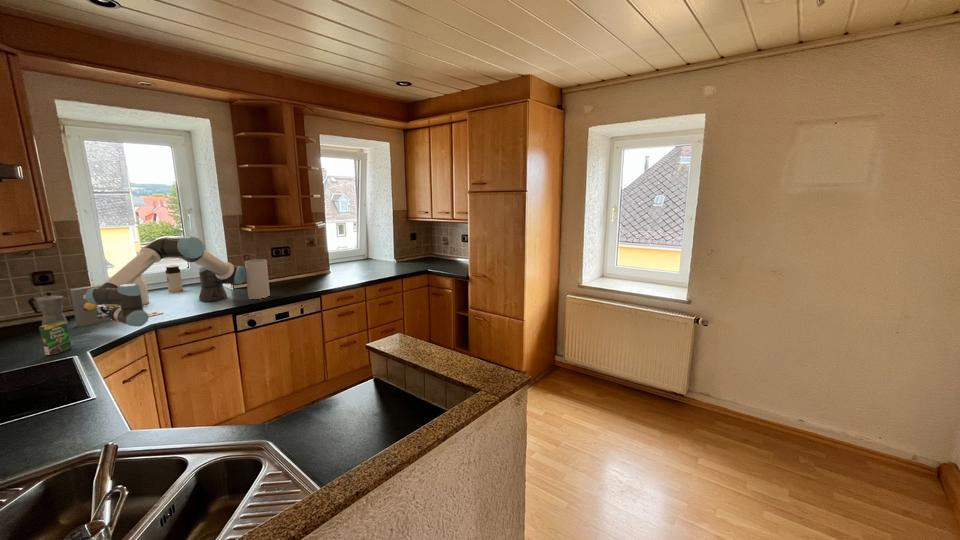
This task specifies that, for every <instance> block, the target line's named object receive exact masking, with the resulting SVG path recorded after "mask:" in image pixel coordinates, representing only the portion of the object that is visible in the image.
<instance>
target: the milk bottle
mask: <svg viewBox="0 0 960 540" xmlns="http://www.w3.org/2000/svg"><path fill="white" fill-rule="evenodd" d="M142 276H143V274H141V275H140V276H139V277H138V278H137V279H136V280H135V281H134V282H133V284H138V285H139V288H140V291H141V298H142V306H143V305H147V304H149V303H150V299H149V292H148V287H147V283H146V281H145V280H144V278H143V277H142Z"/></svg>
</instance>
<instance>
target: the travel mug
mask: <svg viewBox="0 0 960 540" xmlns="http://www.w3.org/2000/svg"><path fill="white" fill-rule="evenodd" d="M179 267H180V264H171V265H170V264H169V265H166V266H165V268H166V269H165V276H166V282H167V291H168V292H169V293H178V292H181V290H182V291H183V290H184V287H183V281H182V273H181V268H179ZM177 291H178V292H177Z"/></svg>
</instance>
